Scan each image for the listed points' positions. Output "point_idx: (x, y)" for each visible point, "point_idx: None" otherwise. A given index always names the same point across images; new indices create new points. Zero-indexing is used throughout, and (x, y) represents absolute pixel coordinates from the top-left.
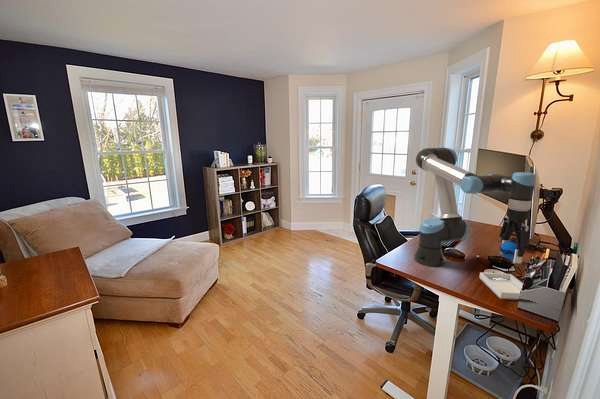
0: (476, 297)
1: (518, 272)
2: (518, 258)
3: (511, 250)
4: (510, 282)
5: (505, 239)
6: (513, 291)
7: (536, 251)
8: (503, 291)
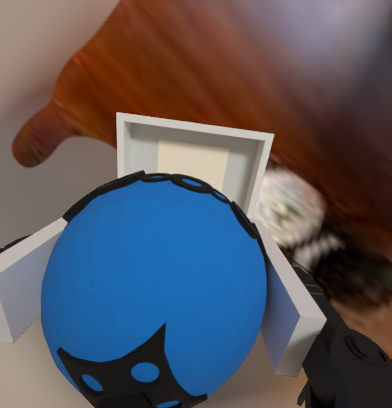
0: (125, 18)
1: None
2: None
3: (64, 230)
4: None
5: (320, 362)
6: None
7: None
8: (163, 152)
